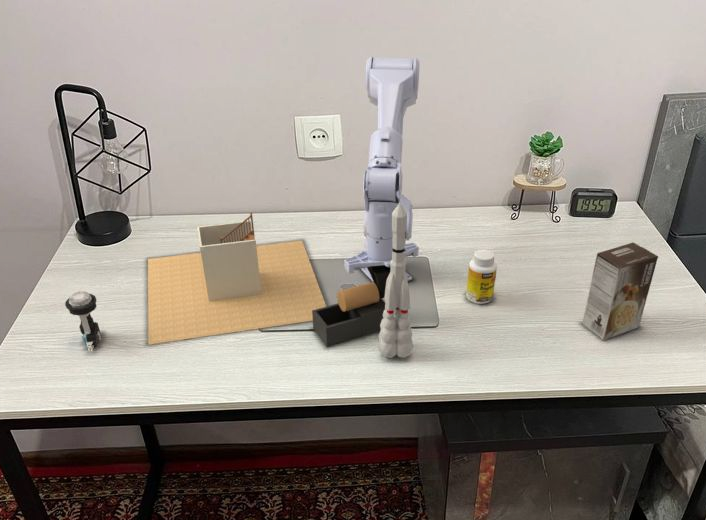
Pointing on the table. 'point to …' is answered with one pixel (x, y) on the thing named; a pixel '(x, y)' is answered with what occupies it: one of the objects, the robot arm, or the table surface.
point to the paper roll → (358, 296)
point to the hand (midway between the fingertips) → (381, 295)
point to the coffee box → (619, 290)
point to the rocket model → (397, 296)
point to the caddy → (347, 322)
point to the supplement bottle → (481, 277)
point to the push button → (85, 316)
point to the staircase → (230, 286)
